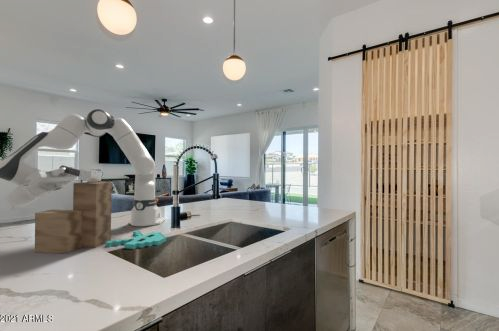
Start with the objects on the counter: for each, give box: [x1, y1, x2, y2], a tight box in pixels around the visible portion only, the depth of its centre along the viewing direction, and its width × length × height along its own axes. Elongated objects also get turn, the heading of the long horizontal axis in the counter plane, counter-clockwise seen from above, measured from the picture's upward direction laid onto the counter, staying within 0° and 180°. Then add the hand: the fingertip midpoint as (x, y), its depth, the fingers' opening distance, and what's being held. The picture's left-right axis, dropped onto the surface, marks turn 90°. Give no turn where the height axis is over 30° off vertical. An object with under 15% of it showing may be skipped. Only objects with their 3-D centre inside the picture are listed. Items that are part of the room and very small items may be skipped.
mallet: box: [59, 164, 104, 182], centre depth 112 cm, size 7×16×4 cm, turn 85°
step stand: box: [34, 181, 113, 254], centre depth 108 cm, size 18×19×26 cm
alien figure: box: [105, 230, 167, 250], centre depth 115 cm, size 20×2×20 cm
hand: (68, 168), depth 112 cm, fingers closed on mallet, 3 cm apart
